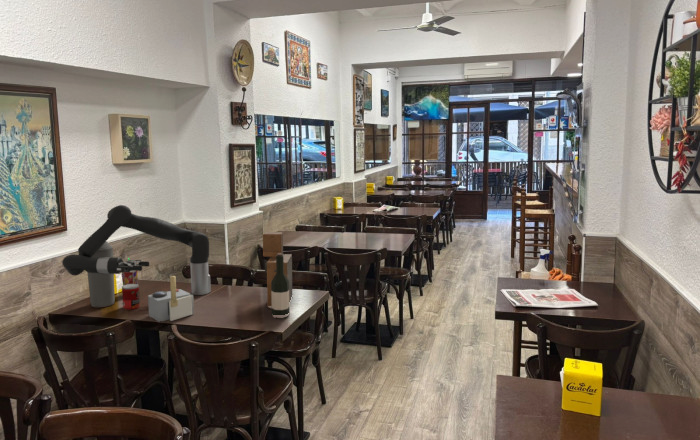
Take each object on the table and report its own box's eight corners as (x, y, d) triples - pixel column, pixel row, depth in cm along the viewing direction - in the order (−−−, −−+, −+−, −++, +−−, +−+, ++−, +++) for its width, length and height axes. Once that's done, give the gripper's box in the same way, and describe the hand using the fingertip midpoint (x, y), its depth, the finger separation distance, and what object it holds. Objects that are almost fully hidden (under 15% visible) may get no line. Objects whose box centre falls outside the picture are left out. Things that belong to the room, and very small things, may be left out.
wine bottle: (281, 319, 242) (281, 256, 237) (268, 316, 246) (267, 254, 241) (293, 314, 249) (292, 253, 244) (279, 311, 253) (278, 251, 248)
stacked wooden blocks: (265, 296, 277) (264, 232, 272) (292, 297, 277) (291, 232, 272) (259, 308, 258) (257, 238, 253) (288, 308, 258) (287, 239, 253)
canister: (122, 301, 267) (118, 234, 262) (104, 309, 255) (100, 239, 249) (100, 299, 270) (96, 233, 265) (82, 307, 258) (77, 237, 252)
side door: (192, 313, 249) (191, 271, 246) (196, 314, 247) (194, 272, 244) (169, 320, 239) (167, 276, 236) (173, 321, 237) (171, 277, 234)
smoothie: (142, 293, 281) (140, 257, 278) (128, 297, 274) (126, 260, 271) (132, 291, 285) (130, 255, 282) (119, 295, 278) (116, 258, 275)
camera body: (181, 308, 257) (180, 286, 255) (191, 314, 249) (190, 291, 247) (148, 315, 246) (147, 292, 244) (158, 321, 238) (157, 297, 236)
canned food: (134, 310, 254) (133, 288, 252) (119, 309, 255) (118, 287, 254) (143, 305, 261) (142, 284, 260) (129, 304, 263) (127, 283, 261)
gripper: (102, 260, 230) (139, 261, 231) (116, 254, 245) (151, 254, 245) (103, 277, 232) (140, 277, 232) (116, 269, 246) (151, 270, 246)
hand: (145, 266), depth 238 cm, fingers open, 8 cm apart
